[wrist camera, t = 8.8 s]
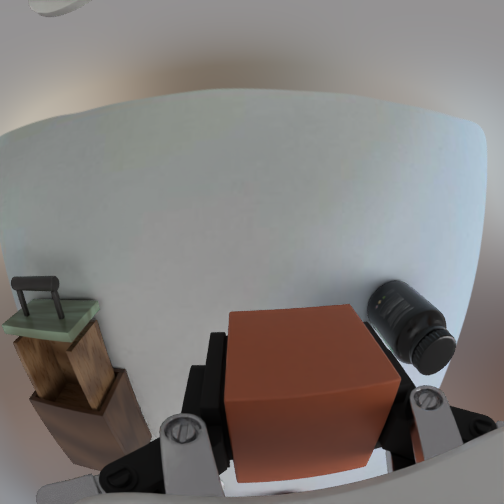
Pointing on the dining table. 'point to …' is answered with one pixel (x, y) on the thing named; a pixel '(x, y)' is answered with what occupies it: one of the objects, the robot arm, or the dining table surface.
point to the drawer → (61, 345)
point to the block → (304, 392)
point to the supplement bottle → (411, 327)
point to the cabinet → (97, 426)
